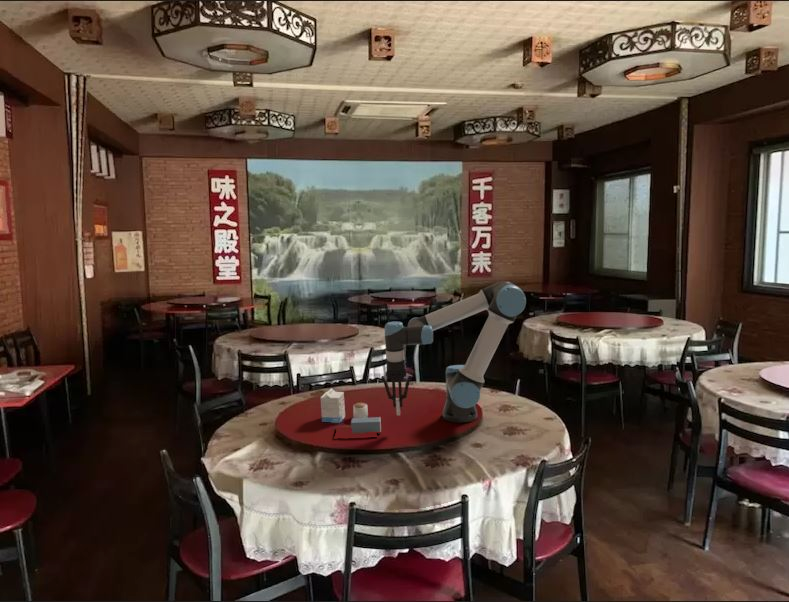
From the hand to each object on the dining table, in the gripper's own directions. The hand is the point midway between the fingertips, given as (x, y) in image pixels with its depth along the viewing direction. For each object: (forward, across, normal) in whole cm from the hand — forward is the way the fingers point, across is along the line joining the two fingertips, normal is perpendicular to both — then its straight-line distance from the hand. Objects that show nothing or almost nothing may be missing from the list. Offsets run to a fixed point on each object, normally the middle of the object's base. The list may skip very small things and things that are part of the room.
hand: (398, 414), depth 246 cm
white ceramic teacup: (+7, +17, -17) cm, 25 cm away
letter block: (+4, +8, 0) cm, 9 cm away
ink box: (+7, +29, -16) cm, 34 cm away
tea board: (+7, +18, 0) cm, 19 cm away
